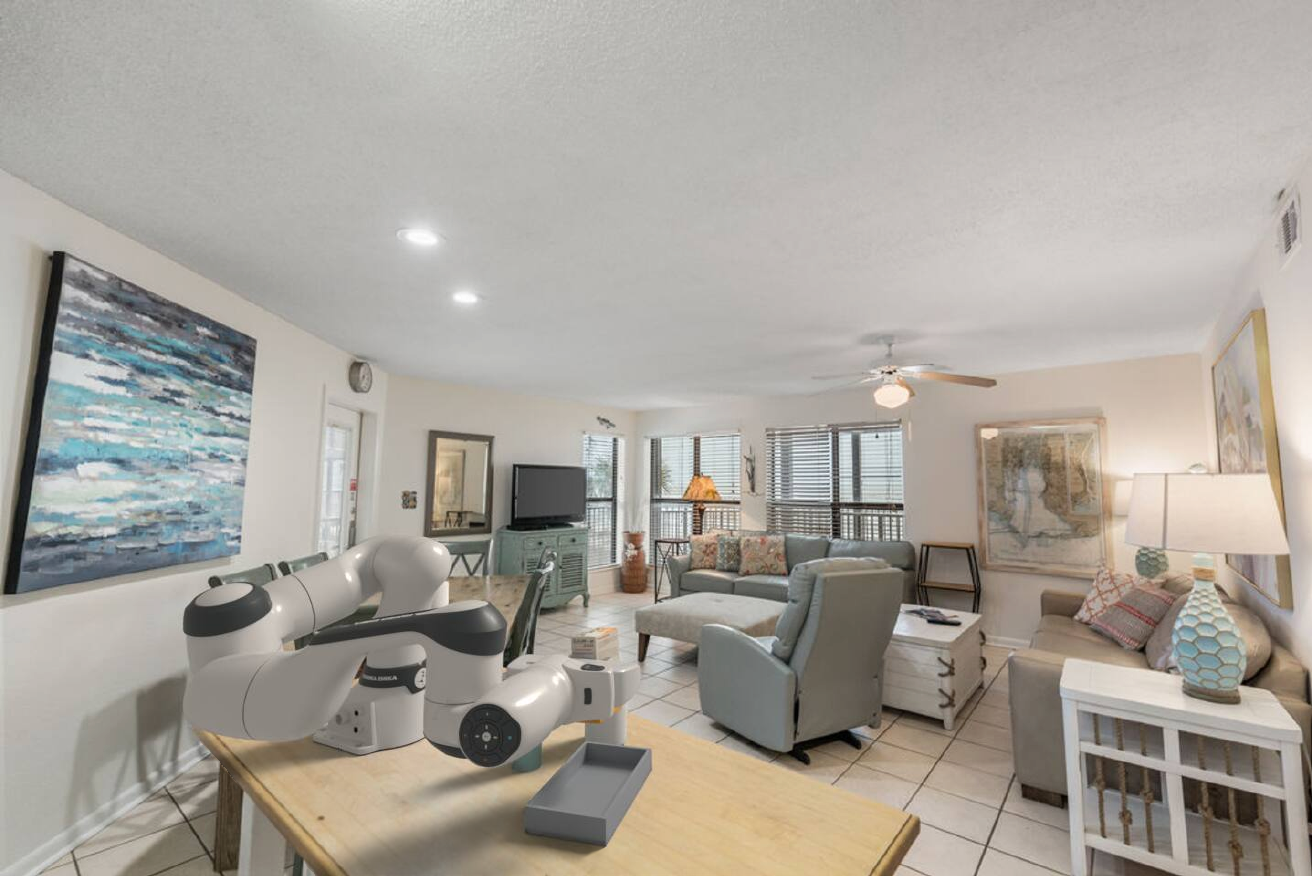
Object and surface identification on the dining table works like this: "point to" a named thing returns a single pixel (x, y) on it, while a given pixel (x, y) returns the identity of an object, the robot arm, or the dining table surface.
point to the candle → (529, 760)
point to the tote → (589, 793)
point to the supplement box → (596, 649)
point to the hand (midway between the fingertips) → (593, 660)
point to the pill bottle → (609, 729)
